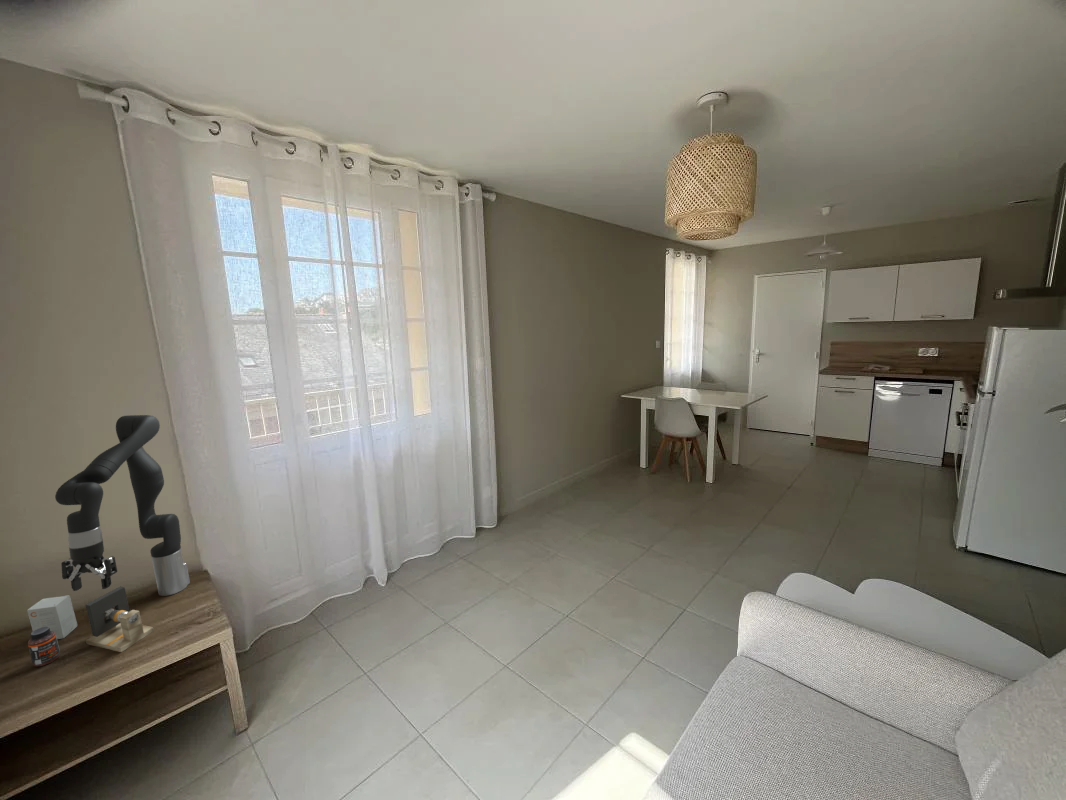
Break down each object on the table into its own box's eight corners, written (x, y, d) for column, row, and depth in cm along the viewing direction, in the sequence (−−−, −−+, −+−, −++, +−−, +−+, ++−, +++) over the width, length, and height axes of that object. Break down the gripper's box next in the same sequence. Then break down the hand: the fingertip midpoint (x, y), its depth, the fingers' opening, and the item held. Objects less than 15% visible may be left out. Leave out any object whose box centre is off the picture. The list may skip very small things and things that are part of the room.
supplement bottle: (41, 669, 133) (33, 638, 130) (28, 666, 134) (19, 636, 132) (65, 654, 138) (58, 625, 136) (52, 651, 139) (44, 622, 137)
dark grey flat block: (126, 615, 151) (120, 586, 148) (130, 616, 150) (124, 587, 148) (92, 636, 141) (85, 604, 139) (97, 636, 141) (89, 605, 138)
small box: (78, 626, 151) (70, 594, 149) (63, 638, 145) (55, 606, 143) (50, 629, 149) (42, 598, 147) (34, 643, 143) (26, 610, 141)
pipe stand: (120, 623, 152) (114, 597, 150) (153, 630, 149) (148, 604, 147) (86, 644, 143) (80, 616, 141) (121, 652, 139) (115, 624, 137)
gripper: (120, 536, 139) (125, 581, 141) (73, 538, 137) (79, 583, 139) (99, 546, 131) (105, 593, 133) (49, 548, 130) (56, 596, 132)
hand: (92, 588), depth 136 cm, fingers open, 8 cm apart
